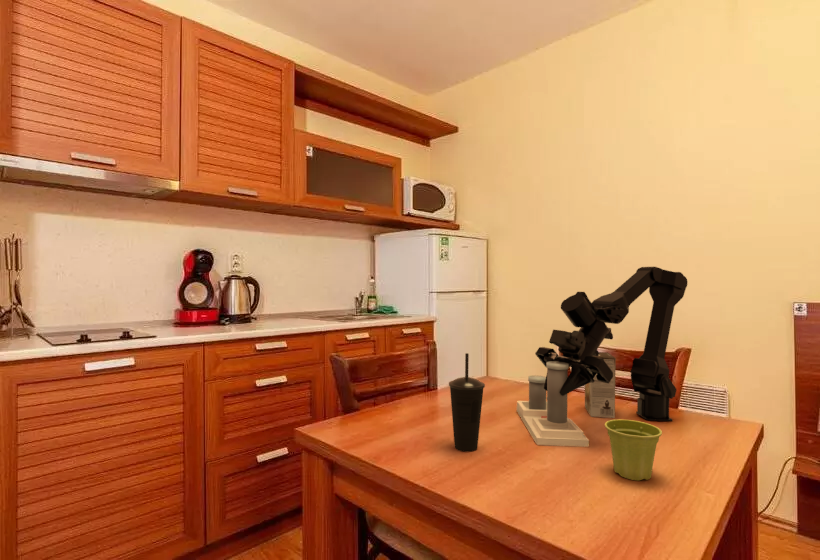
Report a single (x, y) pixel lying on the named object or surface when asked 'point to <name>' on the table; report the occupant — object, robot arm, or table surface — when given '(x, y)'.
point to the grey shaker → (556, 391)
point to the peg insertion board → (537, 421)
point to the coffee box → (602, 392)
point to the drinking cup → (466, 410)
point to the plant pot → (633, 447)
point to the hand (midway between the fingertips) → (552, 392)
